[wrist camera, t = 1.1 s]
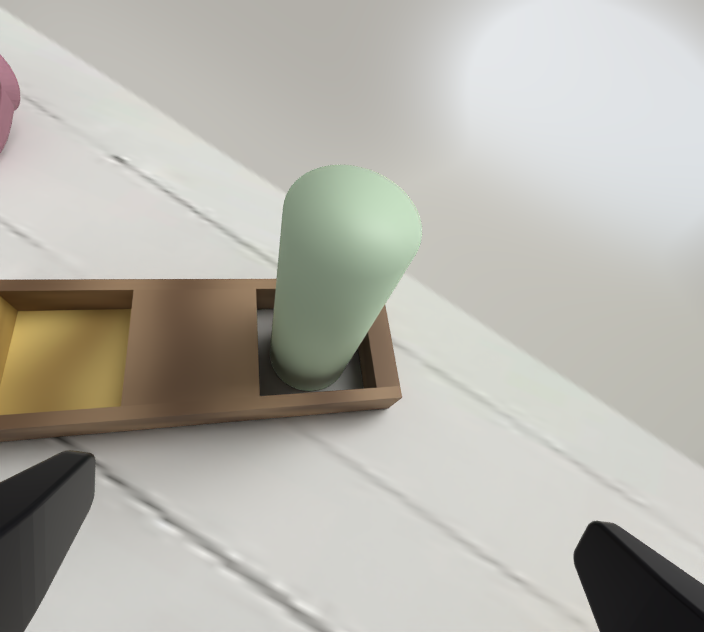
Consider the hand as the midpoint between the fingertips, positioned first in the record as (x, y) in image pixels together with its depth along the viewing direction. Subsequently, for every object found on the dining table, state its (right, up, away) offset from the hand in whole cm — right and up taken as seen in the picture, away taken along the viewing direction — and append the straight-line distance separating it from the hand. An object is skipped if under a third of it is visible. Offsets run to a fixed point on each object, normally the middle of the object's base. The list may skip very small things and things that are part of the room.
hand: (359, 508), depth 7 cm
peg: (-3, +1, +16) cm, 16 cm away
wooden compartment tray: (-8, +1, +14) cm, 17 cm away
